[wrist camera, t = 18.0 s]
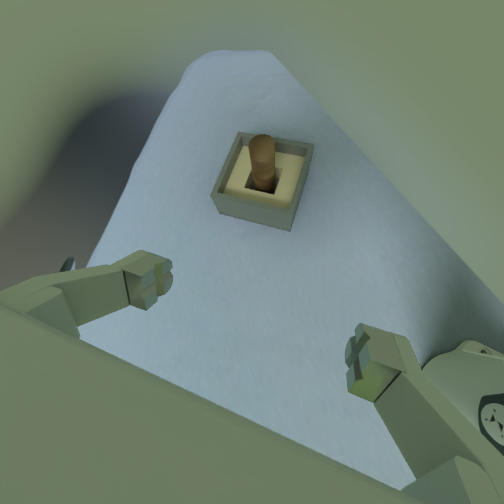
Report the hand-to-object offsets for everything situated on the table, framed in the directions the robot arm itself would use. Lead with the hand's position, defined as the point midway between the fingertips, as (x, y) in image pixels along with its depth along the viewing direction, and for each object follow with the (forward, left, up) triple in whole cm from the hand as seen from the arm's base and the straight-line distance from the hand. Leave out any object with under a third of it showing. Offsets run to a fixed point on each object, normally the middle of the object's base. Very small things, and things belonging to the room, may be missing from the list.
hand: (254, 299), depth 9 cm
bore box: (+9, -25, -31) cm, 41 cm away
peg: (+9, -25, -30) cm, 40 cm away
